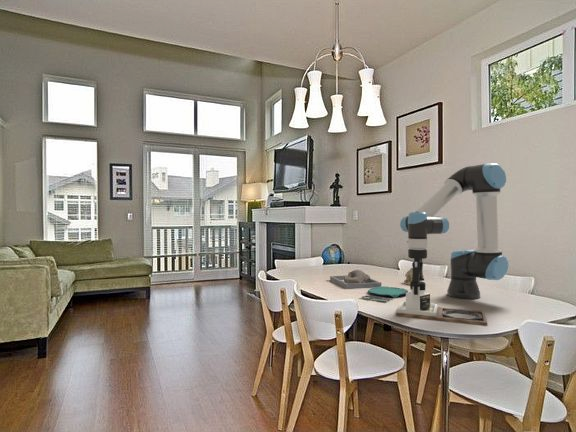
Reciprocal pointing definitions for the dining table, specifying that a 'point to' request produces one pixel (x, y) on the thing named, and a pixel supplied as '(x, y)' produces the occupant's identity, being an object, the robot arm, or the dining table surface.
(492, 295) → the dining table surface
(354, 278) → the grey rounded lump
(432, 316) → the board
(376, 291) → the cutlery set
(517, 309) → the dining table surface
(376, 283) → the grey rectangular tray
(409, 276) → the ceramic model
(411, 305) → the medicine bottle
